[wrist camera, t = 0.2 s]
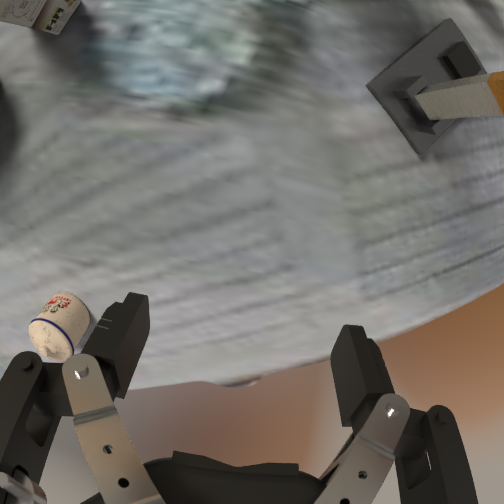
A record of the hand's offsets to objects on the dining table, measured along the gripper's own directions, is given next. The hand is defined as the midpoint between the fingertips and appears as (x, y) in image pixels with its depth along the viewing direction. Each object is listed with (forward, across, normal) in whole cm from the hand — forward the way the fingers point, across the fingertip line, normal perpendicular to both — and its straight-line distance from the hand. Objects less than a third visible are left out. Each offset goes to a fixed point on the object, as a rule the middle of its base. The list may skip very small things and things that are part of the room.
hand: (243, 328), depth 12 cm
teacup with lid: (+27, +31, +30) cm, 50 cm away
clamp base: (+32, -23, -18) cm, 43 cm away
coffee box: (+29, +34, -22) cm, 50 cm away
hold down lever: (+27, -20, -14) cm, 36 cm away
